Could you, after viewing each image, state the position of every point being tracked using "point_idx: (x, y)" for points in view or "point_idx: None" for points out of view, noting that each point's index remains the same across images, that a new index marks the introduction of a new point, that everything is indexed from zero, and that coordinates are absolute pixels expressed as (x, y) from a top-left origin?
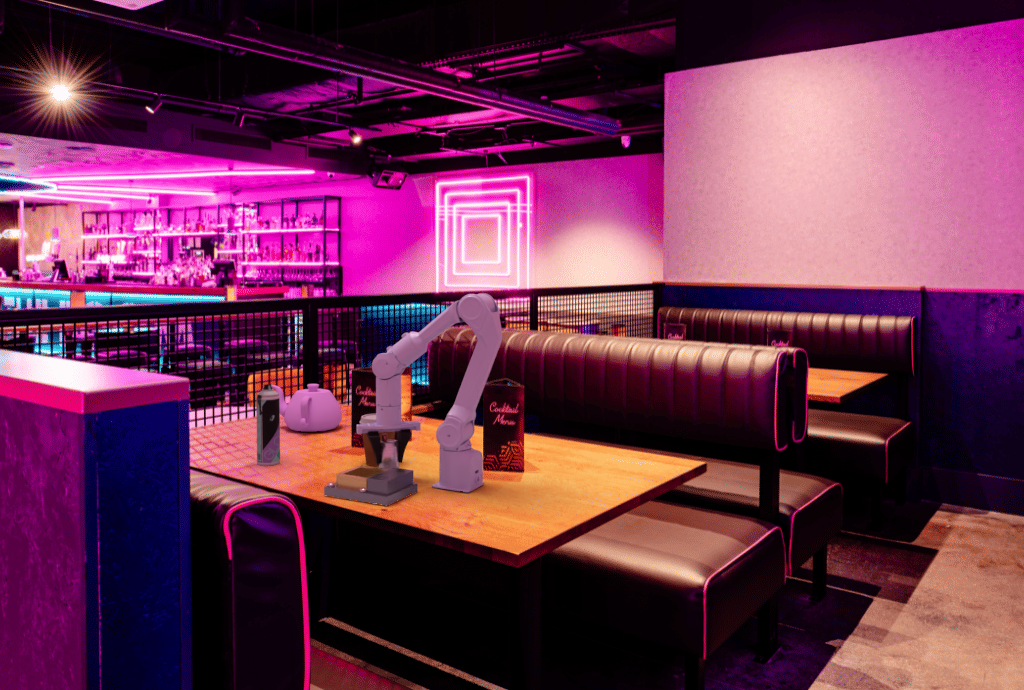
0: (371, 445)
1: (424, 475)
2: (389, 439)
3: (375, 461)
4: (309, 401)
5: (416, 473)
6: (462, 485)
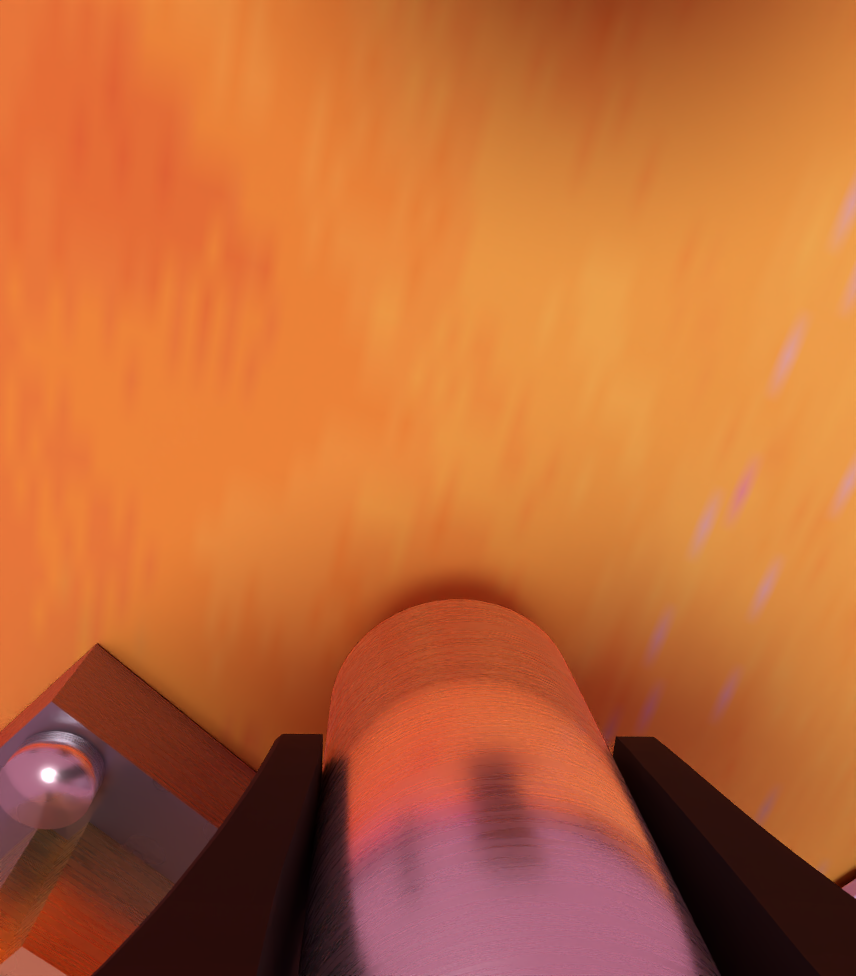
0: (113, 965)
1: (852, 583)
2: None
3: (272, 746)
4: None
5: (815, 479)
6: None
